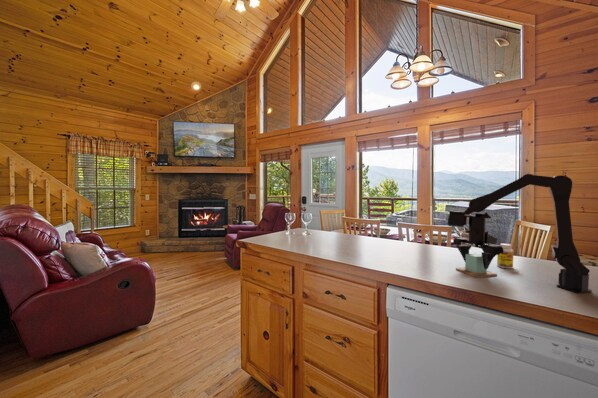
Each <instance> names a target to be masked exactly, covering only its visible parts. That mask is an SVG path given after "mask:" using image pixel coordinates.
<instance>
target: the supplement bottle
mask: <svg viewBox="0 0 598 398" xmlns="http://www.w3.org/2000/svg"><path fill="white" fill-rule="evenodd" d="M499 246H502V247H503V253H500V254H499V255H497V260H496V263H497V264H496V266H497V267H500V268H503V269H512V268H513V267H514V253H515V252H514V249H512V248H513V247H512V244H509V243H500V245H499Z"/></svg>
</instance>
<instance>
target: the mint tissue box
mask: <svg viewBox="0 0 598 398" xmlns="http://www.w3.org/2000/svg"><path fill="white" fill-rule="evenodd" d="M464 262H465V266H464V267H465V270H468V271H471V272H474V273H486V272H487V271H488V269H484V265H483V259H482V254H481V253H476V252H475V253H474V252H473V253H469V254H466V260H465V261H464Z"/></svg>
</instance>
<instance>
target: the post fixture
mask: <svg viewBox="0 0 598 398" xmlns="http://www.w3.org/2000/svg"><path fill="white" fill-rule="evenodd" d="M455 271H456V272H461V273H462V274H466V275H468V276H471V277H473V278H487V277H497V275H498V274H497V273H495V272H492V271H489V270H487V272H486V273H474V272H471V271H468V270H465V266H464V267H456V268H455Z"/></svg>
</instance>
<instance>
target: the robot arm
mask: <svg viewBox="0 0 598 398" xmlns="http://www.w3.org/2000/svg"><path fill="white" fill-rule="evenodd" d="M527 186H536V187H544V188H547V189H548V192H549V194H550V197H551V199H552V202H553V210H554V221H555V232H556V241H555V242H556V244H550V246H551V250H552V253H551V256H552V258H553V259H554V260H556V262H557V263H558V265H559V266H561V267H562V268H560V271H559V272H558V282H557V283H558V284H556V285H555V286H556V287H557V288H561V289H563V290H567V291H570V292H573V293H577V294H581V293H591V292H592V291H593V290H592V289H590V288H589V285H590V283H589V282H590V274H589V273H590V272H591V271H590V269H589V268H588V267H587V266H586V265H584V263H582V261H581V258H580V256H579V253H578V250H577V247H576V244H575V243H574V239H573V230H572V228H573V227H572V219H571V208H570V198H571V194H572V189H573V181H572V179H571V178H570V177H568V176H566V175H559V174H558V175H555V176H546V175H545V176H544V175H536V174H532V173H526V174H524V175H522V176H521V177H519V178H517V179H515V180H513V181H511V182H510V183H508V184H505V185H503V186H502V187H500V188H498V189H496V190H494V191H492V192H490V193H487V194H484V195H481V196H479V197H475V198H473V199H470V201H469V202H468V207H467V208H466V209H464V211H457V210H449V213H448V219H447V225H448V227H456V228H465V226H467V225H468V229H466V230H465V232H466V233H468V237H455V238H454V239H453V245H455V247H456V248H457V250H458V251H459V253H460V255H461V257H462V259H463V261H464V262H465V260H466V254H470V250H471V248H472V247H473V248H478V249H481V250H482V252H481V255H482V259H483V265H484V269H487V270H488V269H489V267H490V265H491V263H492V262H493V261H492V260H493V259H494V257H496V256H498V255H499V254H500V253H503V247H502V246H500V245H499V244H497V243H498V240H499V238H497V237H494V236H491V235H489V231H487V230H486V225H487V224H486V222H487V221H486V220H487V219H491V218H492V215H490V214H489V213H488V212H487V211H485V212H484V213H482V212H483V211H484V210H486V209H487V208H488V207H490V206H492V205H493V204H494V203H496V202H497V201H499V200H501V199H503V198H505V197H507V196H509V195H511V194H513V193H515V192H517V191H519V190H521V189H523V188H525V187H527ZM473 213H475V214H474V215H472V214H473Z"/></svg>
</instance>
